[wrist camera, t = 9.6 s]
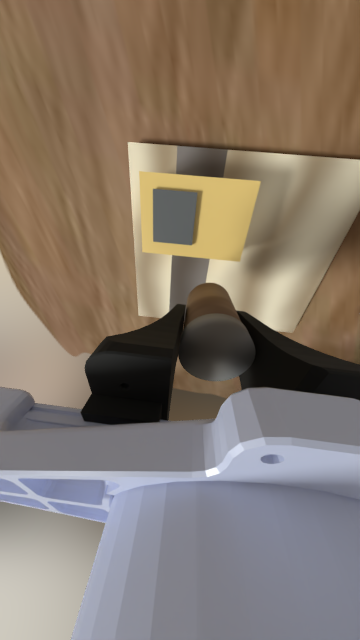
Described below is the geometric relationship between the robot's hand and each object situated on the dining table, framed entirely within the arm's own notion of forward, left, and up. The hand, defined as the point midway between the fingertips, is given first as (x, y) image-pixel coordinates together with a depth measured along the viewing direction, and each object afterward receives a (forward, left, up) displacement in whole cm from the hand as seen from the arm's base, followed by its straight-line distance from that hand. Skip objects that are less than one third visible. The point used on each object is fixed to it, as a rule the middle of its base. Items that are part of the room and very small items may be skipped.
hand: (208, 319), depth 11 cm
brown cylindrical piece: (0, -1, -2) cm, 2 cm away
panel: (-2, -3, -9) cm, 10 cm away
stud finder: (+2, -6, -8) cm, 10 cm away
